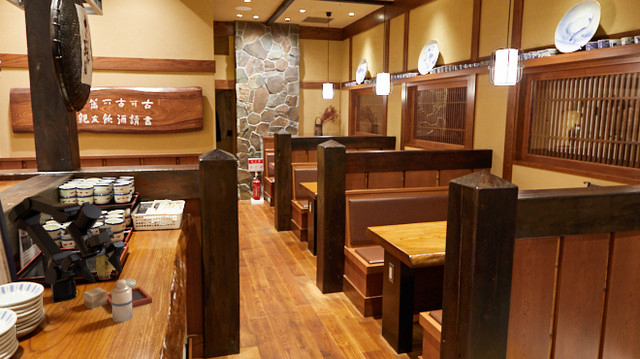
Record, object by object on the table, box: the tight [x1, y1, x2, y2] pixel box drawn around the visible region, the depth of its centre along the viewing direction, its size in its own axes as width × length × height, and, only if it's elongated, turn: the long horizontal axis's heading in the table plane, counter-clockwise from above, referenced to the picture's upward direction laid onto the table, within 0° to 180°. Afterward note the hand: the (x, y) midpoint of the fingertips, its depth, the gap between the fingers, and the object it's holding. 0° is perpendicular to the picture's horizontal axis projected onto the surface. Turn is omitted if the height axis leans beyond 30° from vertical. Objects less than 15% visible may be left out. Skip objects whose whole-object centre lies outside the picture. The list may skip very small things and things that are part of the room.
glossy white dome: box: [125, 278, 137, 288], centre depth 156 cm, size 6×6×2 cm
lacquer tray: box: [107, 286, 153, 309], centre depth 143 cm, size 12×12×2 cm
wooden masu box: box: [82, 287, 108, 310], centre depth 140 cm, size 5×5×4 cm
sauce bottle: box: [95, 225, 116, 281], centre depth 161 cm, size 6×6×20 cm
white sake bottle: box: [111, 278, 133, 323], centre depth 131 cm, size 6×6×12 cm
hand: (108, 277), depth 133 cm, fingers open, 9 cm apart
